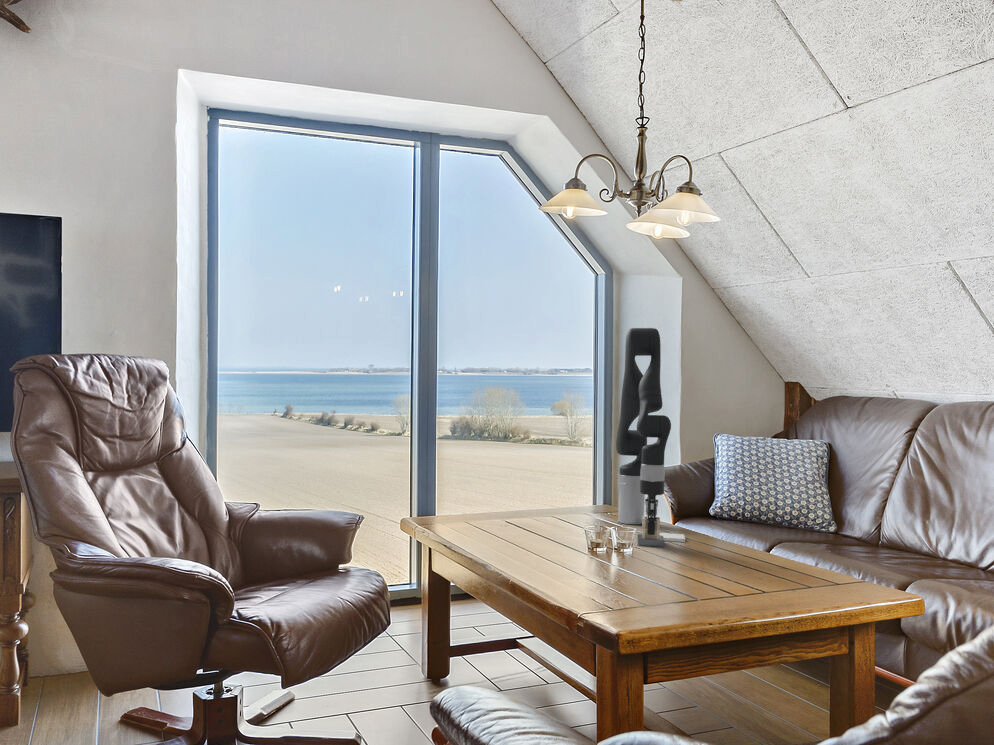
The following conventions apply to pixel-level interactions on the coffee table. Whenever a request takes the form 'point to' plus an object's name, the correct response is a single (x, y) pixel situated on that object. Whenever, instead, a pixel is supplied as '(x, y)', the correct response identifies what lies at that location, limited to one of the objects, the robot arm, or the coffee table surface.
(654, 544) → the pin stand
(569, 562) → the coffee table surface
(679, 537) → the tile
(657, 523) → the beige upright block
